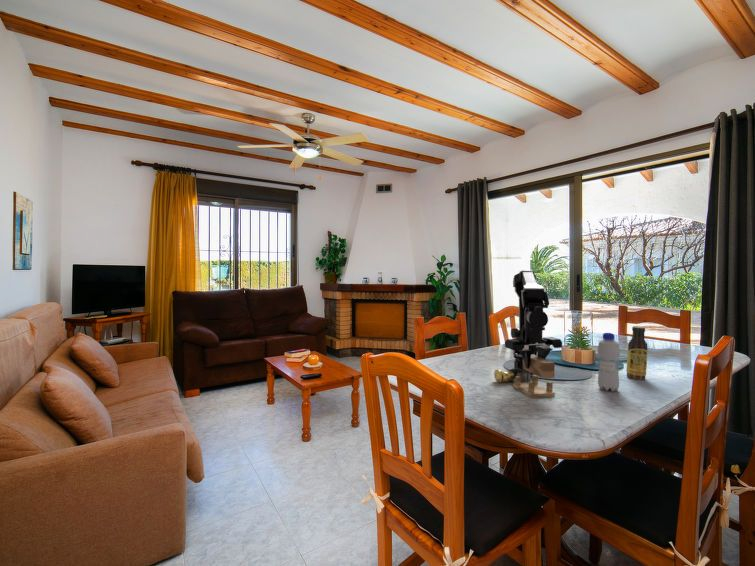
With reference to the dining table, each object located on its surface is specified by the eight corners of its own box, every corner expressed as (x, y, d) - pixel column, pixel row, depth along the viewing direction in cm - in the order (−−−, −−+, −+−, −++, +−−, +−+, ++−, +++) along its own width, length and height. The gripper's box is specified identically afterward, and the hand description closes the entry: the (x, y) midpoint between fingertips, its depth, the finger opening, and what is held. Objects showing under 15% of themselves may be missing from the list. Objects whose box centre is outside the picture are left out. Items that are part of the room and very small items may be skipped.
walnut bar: (554, 377, 120) (554, 362, 119) (543, 378, 119) (543, 363, 119) (532, 368, 132) (532, 354, 131) (522, 368, 131) (522, 354, 131)
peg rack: (513, 386, 133) (513, 375, 133) (533, 385, 135) (533, 373, 134) (533, 397, 121) (533, 385, 121) (554, 396, 123) (555, 383, 123)
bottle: (595, 389, 129) (595, 333, 128) (599, 385, 134) (600, 330, 133) (617, 393, 124) (618, 335, 124) (621, 389, 129) (622, 332, 128)
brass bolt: (508, 379, 142) (508, 367, 142) (515, 382, 137) (515, 370, 137) (494, 380, 141) (494, 368, 141) (500, 383, 136) (500, 371, 136)
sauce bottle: (628, 379, 140) (629, 327, 139) (624, 375, 146) (625, 325, 145) (649, 381, 138) (650, 328, 137) (644, 376, 143) (645, 326, 143)
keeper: (518, 377, 144) (518, 367, 144) (530, 383, 137) (530, 373, 137) (507, 378, 143) (507, 368, 143) (518, 384, 136) (518, 374, 136)
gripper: (543, 319, 137) (542, 360, 137) (496, 321, 133) (496, 363, 134) (563, 323, 126) (563, 368, 127) (513, 325, 122) (513, 372, 123)
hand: (533, 368), depth 128 cm, fingers closed on walnut bar, 4 cm apart
